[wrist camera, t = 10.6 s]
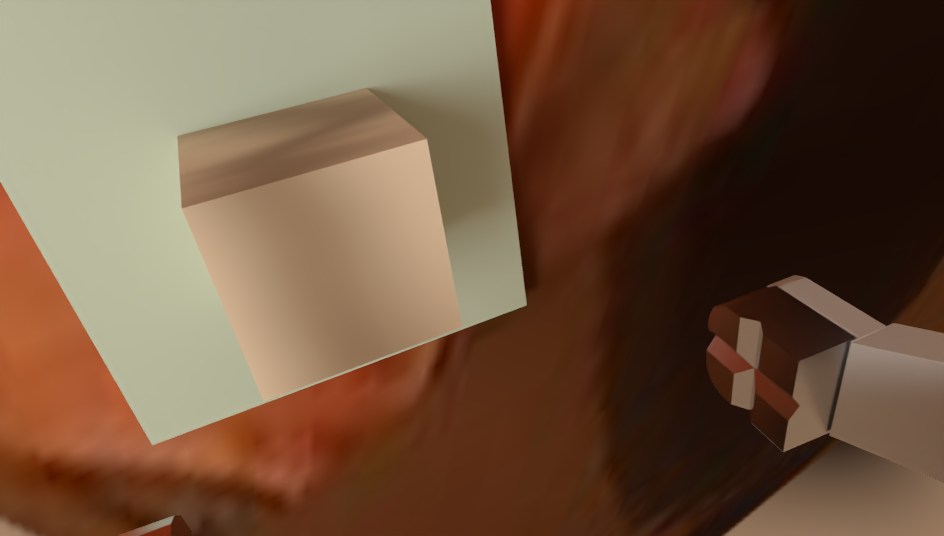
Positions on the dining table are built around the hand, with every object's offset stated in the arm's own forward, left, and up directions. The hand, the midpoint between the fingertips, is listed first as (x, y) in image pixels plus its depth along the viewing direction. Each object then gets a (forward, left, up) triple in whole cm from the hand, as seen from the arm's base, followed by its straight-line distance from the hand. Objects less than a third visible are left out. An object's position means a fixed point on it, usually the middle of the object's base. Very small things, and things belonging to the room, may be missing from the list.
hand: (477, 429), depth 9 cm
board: (+1, 0, -12) cm, 12 cm away
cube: (+1, 0, -11) cm, 11 cm away
